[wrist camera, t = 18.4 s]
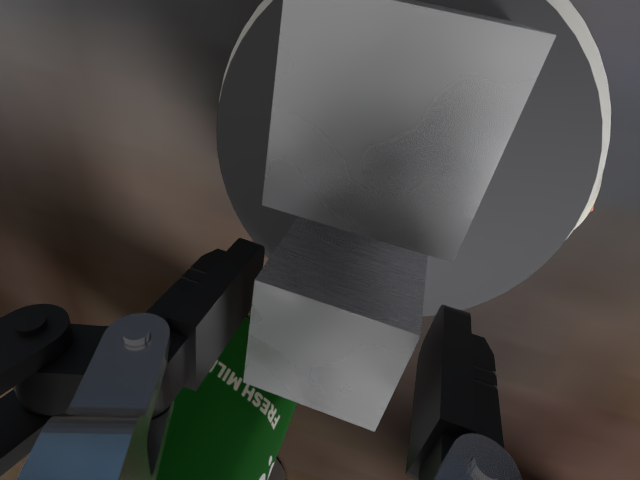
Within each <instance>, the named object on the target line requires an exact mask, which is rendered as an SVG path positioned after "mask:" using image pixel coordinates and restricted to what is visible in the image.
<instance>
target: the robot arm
mask: <svg viewBox="0 0 640 480" xmlns="http://www.w3.org/2000/svg"><path fill="white" fill-rule="evenodd" d="M264 253H265V248H264V246H263V245H260V244H257V243H254V242H251V241H248V240H245V239H242V238H239V239H237V240H236V242H235V243H234V244H233V245H232V246H231V247H230V248H229V249H228V250H227V251H223V250H220V249H216V250H214V251H212V252H209V253H207V254H205V255H203V256H201V257H200V258H199V259H198V260H197V261H196V262H195V263H194V264H193V265H192V266H191V269H188V270H187V271H186V273H185V274H184V275H183V276H182V278H180V279H179V280H178V281H177V282H176V283H175V284H174V285H173V286H172V287H171V288H170V289H169V290H168V291H167V292H166V293H165V294H164V295H163V296H162V297H161V298H160V299H159V300H158V301H157V302H156V303H155V304H154V305H153V306H152V307H151V308H150V309H149V310H148V311H147V312H146V313H134V314H130V315H127V316H124V317H122V318H120V319H118V320H116V321H115V322H113V323H112V324H111V325H110V326H93V325H80V324H70V320H69V316H68V314H67V312H66V311H65V310H64V309H63V308H61V307H59V306H56V305H51V304H36V305H30V306H26V307H23V308H20V309H17V310H15V311H13V312H11V313H9V314H7V315H5V316H4V317H2V318H0V395H2V394H4V393H5V392H7V391H8V390H10V389H11V388H13V389H14V390H12V391H11V392H9V393H8V394H6V395H5V396H3V397H2V398H0V476H1V475H3V474H4V473H5V472H6V471H8V470H9V469H10V468H11V467H13V466H14V465H15V464H16V463H18V462H19V461H20V460H21V459H23V458H24V457H25V456H26V455H28V454H29V453H30V454H29V456H28V458H27V460H26V462H25V464H24V466H23V468H22V470H21V472H20V474H19V476H18V478H17V480H156V479H157V474H158V470H159V466H160V462H161V458H162V453H163V449H164V445H165V441H166V437H167V432H168V428H169V424H170V420H171V416H172V411H173V407H174V399H175V398H176V396H177V395H178V393H179V392H180V390H181V389H182V388H183V386H184V387H186V388H189V389H191V390H194V391H197V389H198V388H199V386H200V385H201V383H202V382H203V380H204V379H205V377H206V376H207V374H208V373H209V371H210V370H211V368H212V367H213V365H214V364H215V362H216V361H217V359H218V358H219V356H220V355H221V353H222V352H223V350H224V349H225V347H226V345H227V344H228V342H229V341H230V339H231V338H232V336H233V335H234V333H235V332H236V330H237V329H238V327H239V326H240V324H241V323H242V321H243V320H244V318H245V317H246V315H247V314H248V312H249V311H250V309H251V308H252V299H253V290H254V281H255V279H256V277H257V276H258V274H259V273H260V271H261V270H262V268H263V262H264ZM495 373H496V369H495V360H494V354H493V352H492V351H491V349H490V347H489V345H488V343H487V342H486V340H485V338H483V337H480V336H477V335H474V334H471V316H470V313H468V312H465V311H462V310H459V309H455V308H452V307H449V306H446V305H441V306H440V308H439V310H438V312H437V314H436V316H435V318H434V320H433V322H432V324H431V327H430V329H429V331H428V333H427V335H426V337H425V339H424V341H423V344H422V347H421V350H420V353H419V357H418V363H417V372H416V382H415V391H414V400H413V410H412V419H411V429H410V438H409V448H408V457H407V466H406V475H407V476H410V477H412V478H415V479H417V480H522V479H521V475H520V472H519V469H518V467H517V465H516V463H515V462H514V460H513V459H512V457H511V456H510V455H509V454H508V452H507V451H506V450H505V449H504V444H503V435H502V426H501V416H500V407H499V398H498V390H497V379H496V375H495ZM268 480H286V478H285V472H284V470H283V467H282V465H281V464H280V463H279V461H278V460H277V458H276V460H275V462H274V465H273V468H272V470H271V473H270V475H269V478H268Z"/></svg>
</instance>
